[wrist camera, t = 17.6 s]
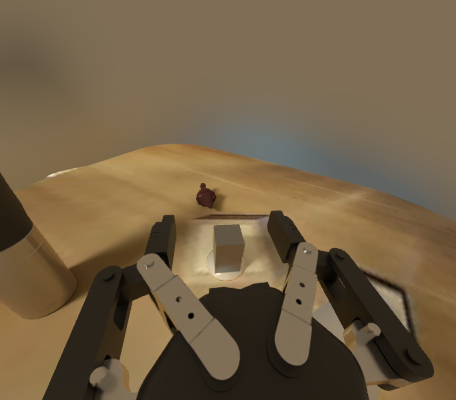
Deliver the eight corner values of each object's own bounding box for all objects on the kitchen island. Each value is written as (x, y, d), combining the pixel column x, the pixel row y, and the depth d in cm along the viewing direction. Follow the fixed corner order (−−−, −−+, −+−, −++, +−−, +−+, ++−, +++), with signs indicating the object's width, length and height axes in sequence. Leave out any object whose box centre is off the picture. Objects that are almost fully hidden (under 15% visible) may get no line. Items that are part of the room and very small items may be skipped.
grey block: (214, 273, 43) (215, 246, 37) (213, 252, 48) (213, 225, 42) (239, 271, 43) (244, 244, 38) (235, 251, 48) (239, 224, 43)
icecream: (224, 199, 58) (212, 181, 70) (202, 198, 55) (193, 179, 67) (219, 217, 61) (208, 197, 73) (198, 216, 58) (190, 195, 70)
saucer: (198, 264, 45) (198, 263, 45) (223, 242, 52) (223, 240, 51) (229, 289, 40) (229, 288, 40) (252, 260, 47) (252, 259, 47)
